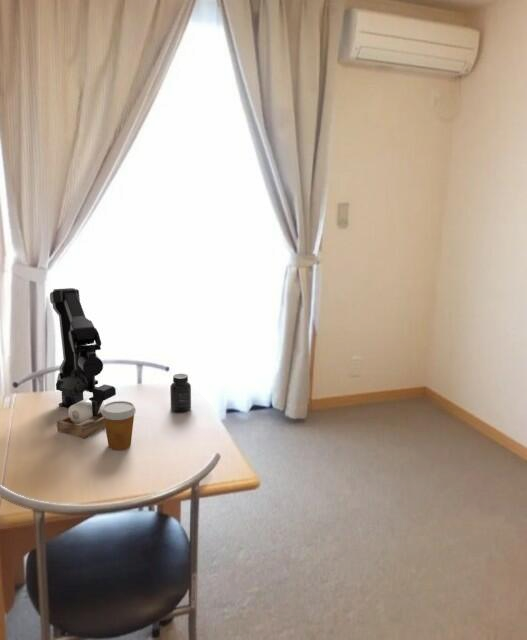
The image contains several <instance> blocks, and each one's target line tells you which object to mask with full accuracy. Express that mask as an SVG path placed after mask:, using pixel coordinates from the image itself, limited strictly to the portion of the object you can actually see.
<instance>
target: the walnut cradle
mask: <svg viewBox="0 0 527 640" xmlns="http://www.w3.org/2000/svg"><path fill="white" fill-rule="evenodd" d="M56 426H57V427H56V429H57V432H59V433H63V434H67V435H69V436H74V437H77V438H80V439H84V440H85V439H87V438H88V437H92V435H94V434H96V433H99V432H100V431H101V430H102V429H104V428H105V423H104V417H103V415H102V413H99V414H97V415H96V416H95V417H92V418H90V419H88V420H86V421H84V422H82V423H80V424H76V423H74V422H72V420H71V419H70V417H69V415H68V416H65V417H64V418H63V417H62V418H61V419H59V420H57V421H56Z"/></svg>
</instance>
